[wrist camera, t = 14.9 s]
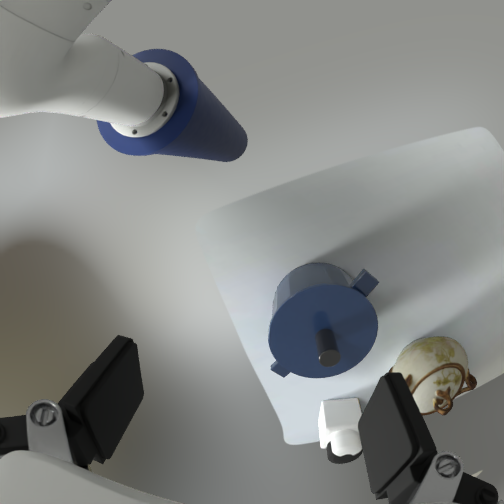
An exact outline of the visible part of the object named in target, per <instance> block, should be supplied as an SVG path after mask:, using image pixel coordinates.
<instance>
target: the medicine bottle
mask: <svg viewBox="0 0 504 504" xmlns="http://www.w3.org/2000/svg"><path fill="white" fill-rule="evenodd" d="M361 416H362V411H361V407H360V403H359V400H358V398H348V399H337V400H323V401H322V403H321V409H320V415H319V420H318V427H319V436H320V446H321V448H327V455H328V459H329V461H331V462H332V463H336V464H343V463H348V462H351V461H353V460H355V459H357V458H358V457H359V456H360V455H361V454H362V452H363V449H362V444H361V440H360V435H359V431H358V422H359V419H360V417H361Z"/></svg>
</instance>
